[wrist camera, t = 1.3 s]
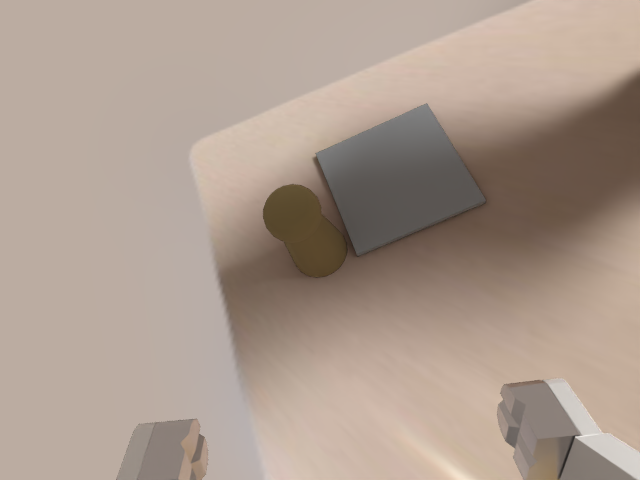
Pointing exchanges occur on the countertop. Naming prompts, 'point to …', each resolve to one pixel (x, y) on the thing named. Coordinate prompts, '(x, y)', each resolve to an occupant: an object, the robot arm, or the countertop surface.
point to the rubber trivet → (397, 179)
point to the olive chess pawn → (304, 230)
